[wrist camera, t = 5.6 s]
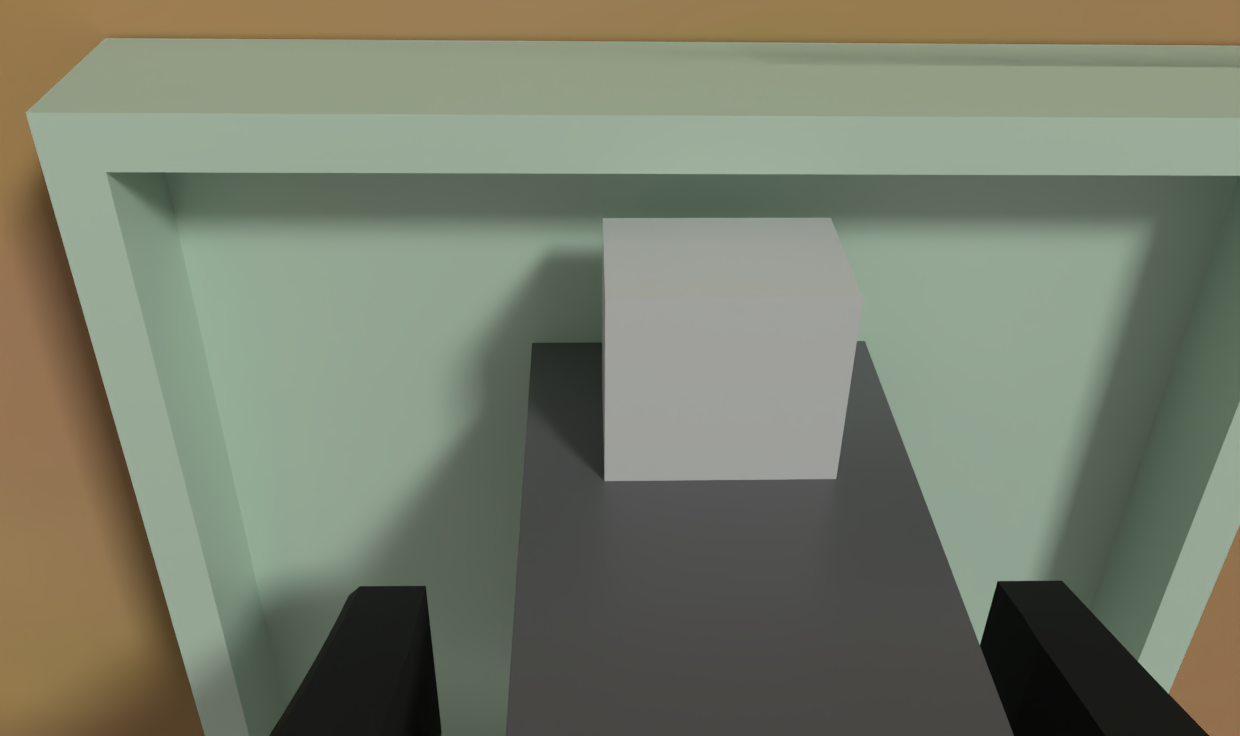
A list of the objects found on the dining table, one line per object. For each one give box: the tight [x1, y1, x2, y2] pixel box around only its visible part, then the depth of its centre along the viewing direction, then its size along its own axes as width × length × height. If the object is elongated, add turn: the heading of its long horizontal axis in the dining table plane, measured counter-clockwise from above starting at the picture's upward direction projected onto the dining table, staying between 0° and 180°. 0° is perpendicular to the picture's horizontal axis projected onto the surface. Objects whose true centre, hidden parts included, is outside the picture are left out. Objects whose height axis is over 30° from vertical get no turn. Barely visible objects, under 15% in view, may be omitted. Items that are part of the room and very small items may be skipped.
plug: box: [506, 218, 1014, 736], centre depth 10 cm, size 7×3×6 cm, turn 179°
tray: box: [26, 38, 1240, 736], centre depth 13 cm, size 10×11×2 cm
